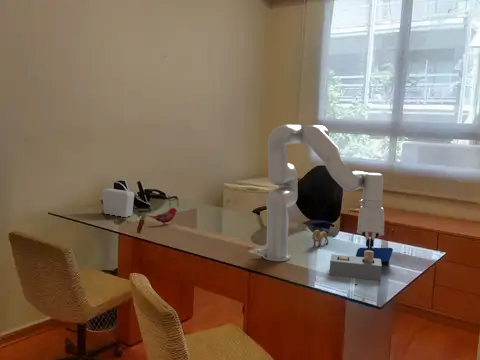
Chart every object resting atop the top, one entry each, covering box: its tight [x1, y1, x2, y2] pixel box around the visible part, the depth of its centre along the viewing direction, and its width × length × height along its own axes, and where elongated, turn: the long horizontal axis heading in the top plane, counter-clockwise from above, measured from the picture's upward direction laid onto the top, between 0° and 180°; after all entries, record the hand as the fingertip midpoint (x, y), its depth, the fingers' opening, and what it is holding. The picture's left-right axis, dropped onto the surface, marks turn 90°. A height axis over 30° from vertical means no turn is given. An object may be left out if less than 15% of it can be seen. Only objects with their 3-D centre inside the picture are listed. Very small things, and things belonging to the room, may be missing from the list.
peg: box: [364, 250, 374, 263], centre depth 198 cm, size 4×4×6 cm
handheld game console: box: [355, 247, 394, 266], centre depth 215 cm, size 16×13×9 cm
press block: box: [329, 254, 383, 281], centre depth 200 cm, size 20×10×6 cm, turn 76°
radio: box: [101, 175, 135, 218], centre depth 299 cm, size 22×8×25 cm, turn 58°
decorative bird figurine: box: [146, 207, 178, 226], centre depth 276 cm, size 3×18×10 cm, turn 112°
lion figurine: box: [311, 229, 329, 248], centre depth 243 cm, size 15×5×9 cm, turn 150°
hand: (369, 248), depth 198 cm, fingers closed
